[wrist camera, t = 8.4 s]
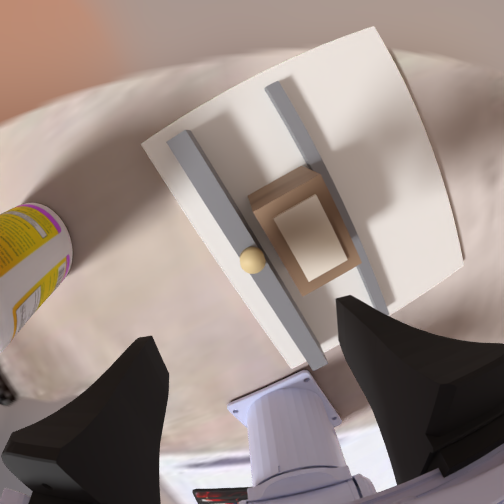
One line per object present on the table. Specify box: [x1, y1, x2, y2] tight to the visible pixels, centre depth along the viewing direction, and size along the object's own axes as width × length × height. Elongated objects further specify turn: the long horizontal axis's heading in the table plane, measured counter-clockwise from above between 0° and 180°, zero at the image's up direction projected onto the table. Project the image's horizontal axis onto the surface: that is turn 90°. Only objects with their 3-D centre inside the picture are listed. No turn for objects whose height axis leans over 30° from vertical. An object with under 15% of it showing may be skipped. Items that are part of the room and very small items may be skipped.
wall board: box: [141, 26, 464, 371], centre depth 19 cm, size 20×17×4 cm
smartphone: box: [193, 487, 251, 504], centre depth 34 cm, size 7×1×15 cm
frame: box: [248, 166, 362, 297], centre depth 18 cm, size 6×4×4 cm
